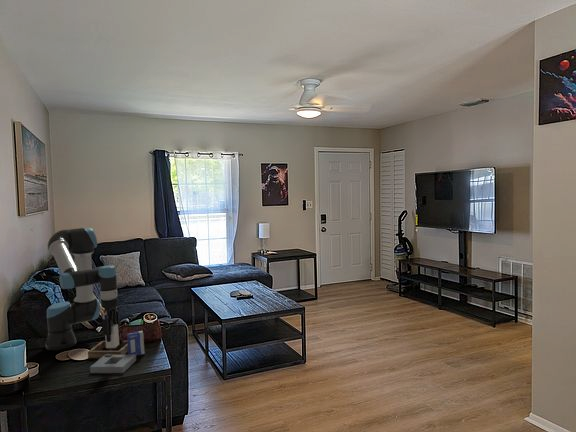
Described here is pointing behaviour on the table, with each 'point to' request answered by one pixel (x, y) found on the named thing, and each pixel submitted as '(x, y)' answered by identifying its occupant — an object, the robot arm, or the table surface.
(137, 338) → the walkman
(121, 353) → the mug frame
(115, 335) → the plug
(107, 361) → the socket plate
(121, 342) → the pottery mug
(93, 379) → the table surface
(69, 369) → the table surface
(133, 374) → the table surface
